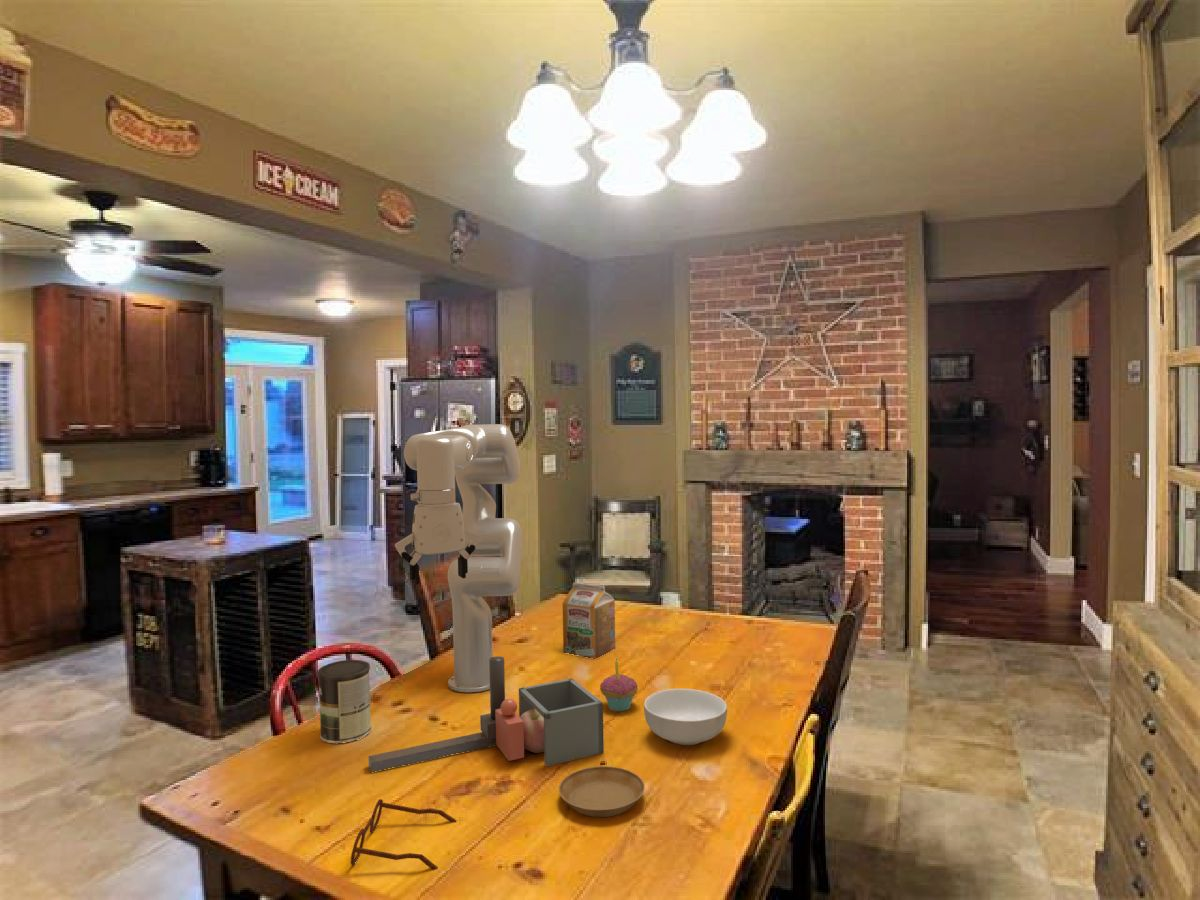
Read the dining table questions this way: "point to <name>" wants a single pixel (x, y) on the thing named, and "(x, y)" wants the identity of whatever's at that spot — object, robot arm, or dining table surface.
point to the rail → (429, 751)
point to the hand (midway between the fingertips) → (439, 580)
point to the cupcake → (618, 690)
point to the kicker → (502, 715)
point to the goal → (566, 719)
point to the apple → (533, 731)
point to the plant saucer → (601, 790)
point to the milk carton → (588, 621)
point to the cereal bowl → (685, 715)
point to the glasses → (371, 822)
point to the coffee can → (344, 701)
